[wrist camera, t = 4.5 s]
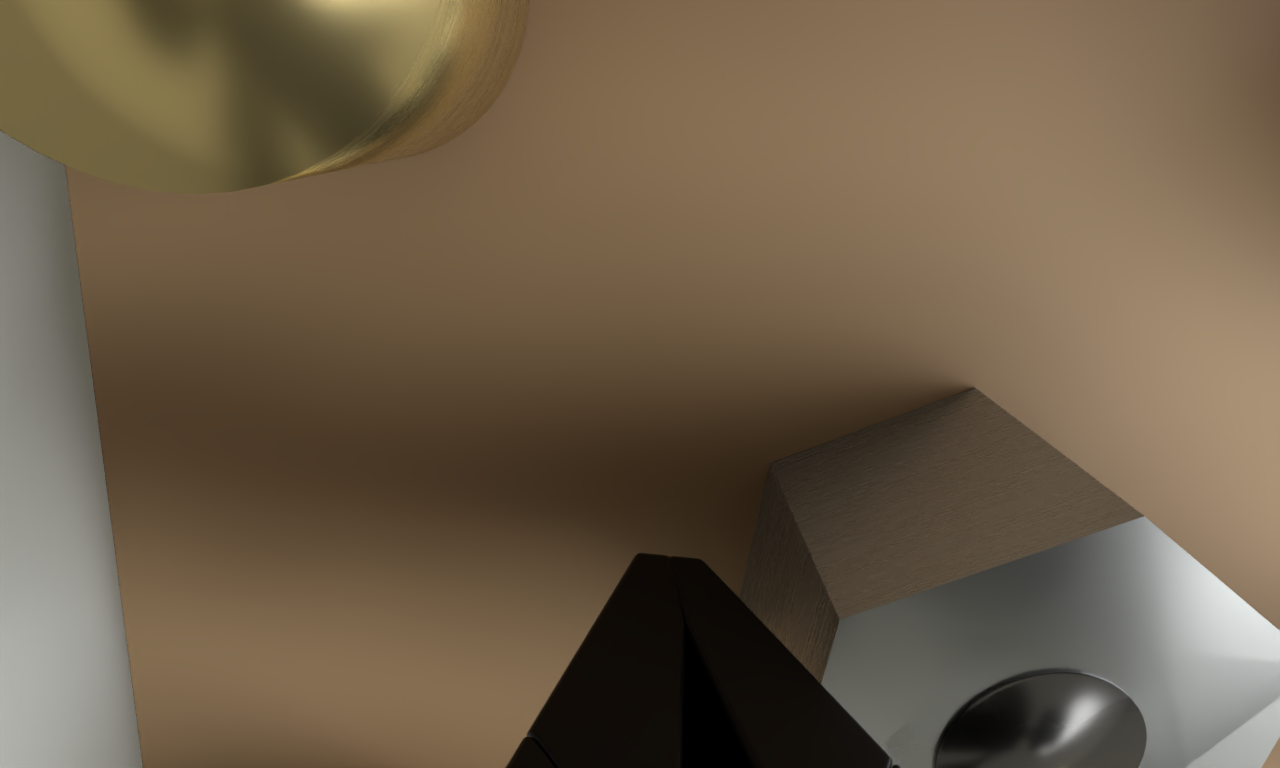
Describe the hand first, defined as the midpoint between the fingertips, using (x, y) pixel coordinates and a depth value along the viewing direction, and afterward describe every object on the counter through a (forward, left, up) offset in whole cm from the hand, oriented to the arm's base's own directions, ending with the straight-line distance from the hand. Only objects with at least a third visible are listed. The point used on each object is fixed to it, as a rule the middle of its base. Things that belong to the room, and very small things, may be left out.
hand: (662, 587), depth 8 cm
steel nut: (0, -4, -1) cm, 4 cm away
